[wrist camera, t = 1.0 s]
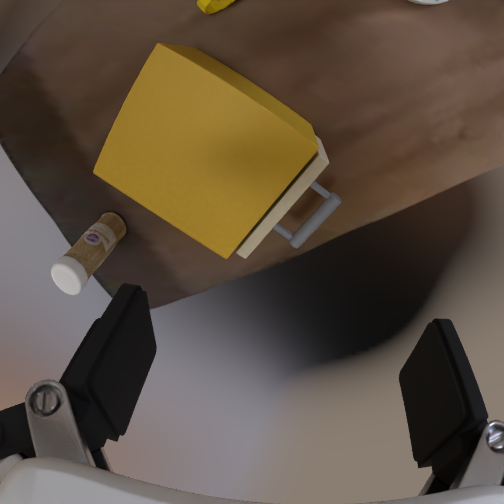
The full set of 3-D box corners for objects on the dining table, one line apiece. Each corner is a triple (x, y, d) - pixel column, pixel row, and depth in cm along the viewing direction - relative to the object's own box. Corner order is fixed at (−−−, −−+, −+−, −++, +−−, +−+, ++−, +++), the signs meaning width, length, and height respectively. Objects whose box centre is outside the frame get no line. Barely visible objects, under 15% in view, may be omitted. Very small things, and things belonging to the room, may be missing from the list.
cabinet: (311, 124, 33) (319, 148, 24) (241, 211, 40) (226, 259, 31) (194, 47, 30) (157, 42, 21) (138, 143, 37) (92, 172, 28)
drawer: (351, 164, 34) (367, 194, 27) (284, 238, 41) (281, 282, 33) (211, 63, 30) (185, 64, 22) (155, 153, 36) (121, 179, 29)
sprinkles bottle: (126, 213, 42) (77, 270, 31) (127, 241, 45) (83, 300, 34) (99, 208, 42) (46, 261, 31) (101, 235, 45) (53, 291, 34)
